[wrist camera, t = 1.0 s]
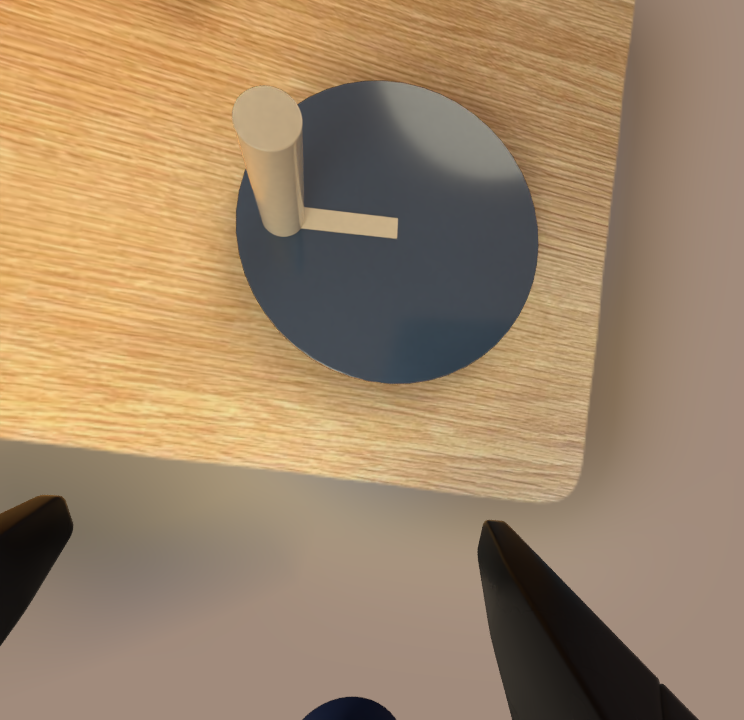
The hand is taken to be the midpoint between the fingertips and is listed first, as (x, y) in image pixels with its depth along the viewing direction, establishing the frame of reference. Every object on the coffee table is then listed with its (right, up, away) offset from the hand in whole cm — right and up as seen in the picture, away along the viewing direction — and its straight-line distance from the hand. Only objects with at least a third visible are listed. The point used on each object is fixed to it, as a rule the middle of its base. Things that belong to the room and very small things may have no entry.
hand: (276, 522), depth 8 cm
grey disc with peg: (+3, +11, +15) cm, 19 cm away
